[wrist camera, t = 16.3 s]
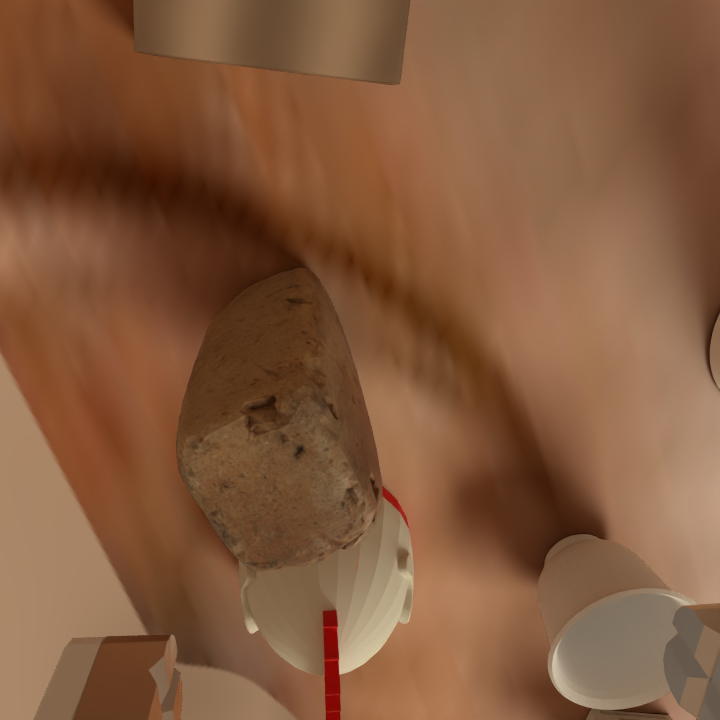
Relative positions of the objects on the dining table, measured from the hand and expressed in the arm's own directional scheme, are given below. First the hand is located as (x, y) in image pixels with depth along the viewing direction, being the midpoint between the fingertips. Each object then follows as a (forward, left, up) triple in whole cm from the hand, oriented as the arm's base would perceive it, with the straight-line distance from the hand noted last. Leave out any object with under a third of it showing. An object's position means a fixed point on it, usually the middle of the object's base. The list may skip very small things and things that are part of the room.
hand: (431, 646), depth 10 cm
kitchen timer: (+1, +26, -34) cm, 43 cm away
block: (+3, +8, -34) cm, 35 cm away
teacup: (-22, +30, -34) cm, 51 cm away
